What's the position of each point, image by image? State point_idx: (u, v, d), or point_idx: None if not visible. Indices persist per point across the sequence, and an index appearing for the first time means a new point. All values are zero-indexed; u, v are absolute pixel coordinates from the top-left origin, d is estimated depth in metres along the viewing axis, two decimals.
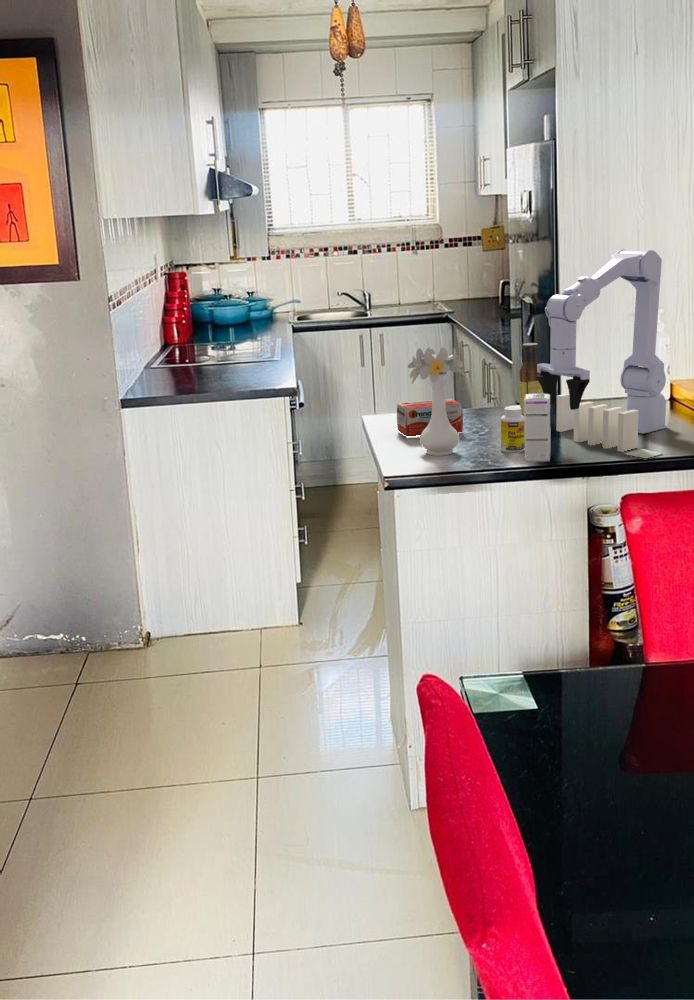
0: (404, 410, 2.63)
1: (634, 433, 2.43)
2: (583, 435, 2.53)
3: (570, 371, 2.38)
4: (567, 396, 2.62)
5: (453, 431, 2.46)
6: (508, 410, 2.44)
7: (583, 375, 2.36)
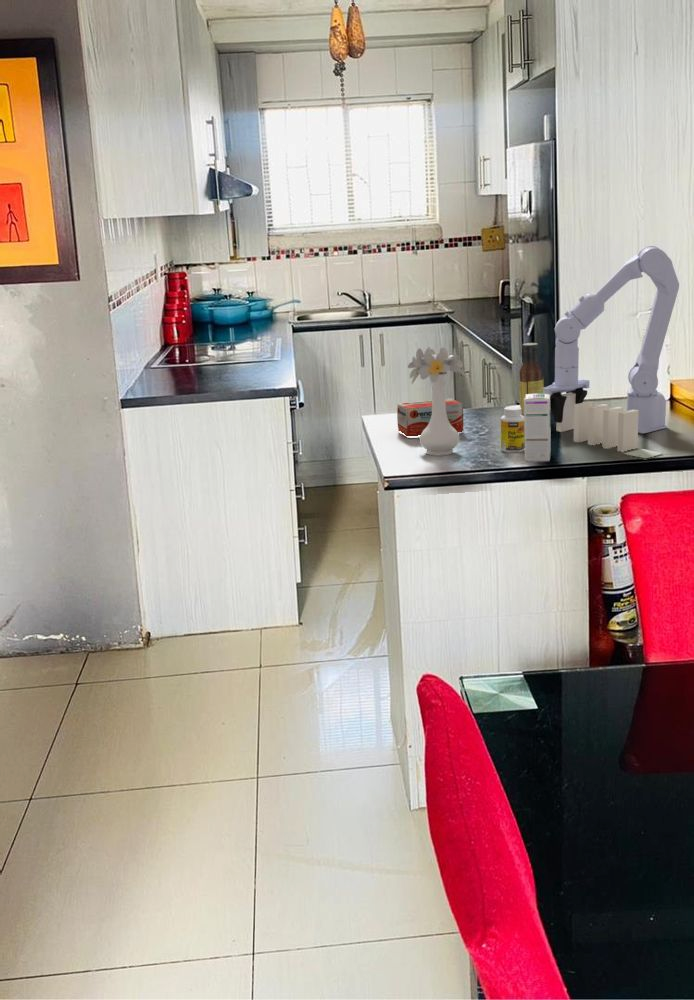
0: (405, 410, 2.63)
1: (634, 433, 2.43)
2: (583, 435, 2.53)
3: None
4: (567, 396, 2.62)
5: (453, 431, 2.46)
6: (508, 410, 2.44)
7: (543, 391, 2.60)
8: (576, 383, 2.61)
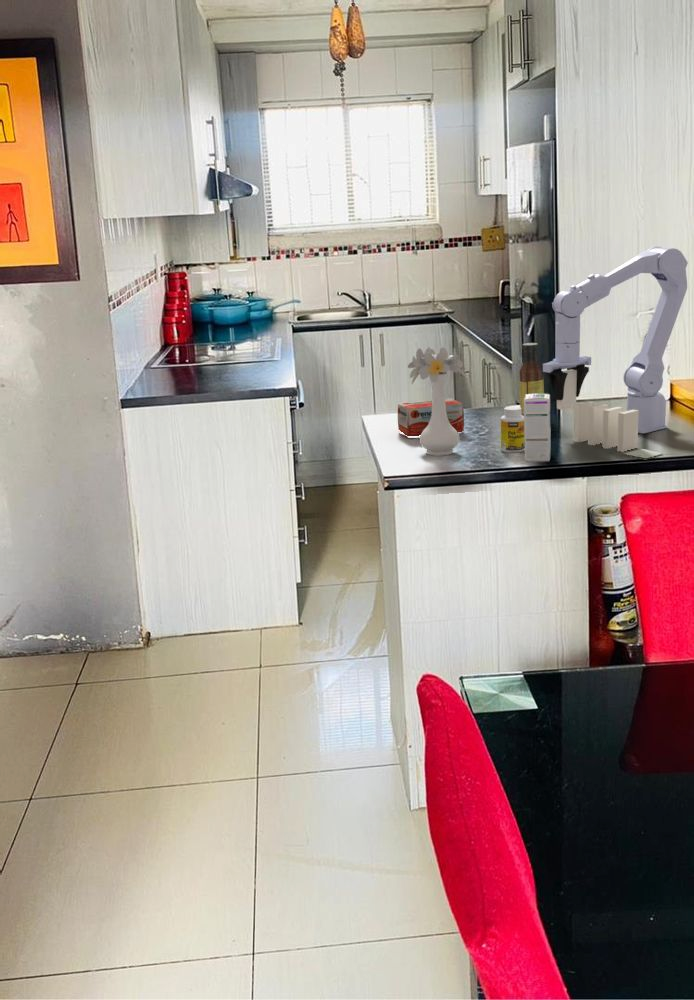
0: (406, 410, 2.63)
1: (634, 433, 2.43)
2: (583, 435, 2.53)
3: None
4: (568, 373, 2.54)
5: (453, 431, 2.46)
6: (508, 410, 2.44)
7: (543, 367, 2.52)
8: (577, 359, 2.52)
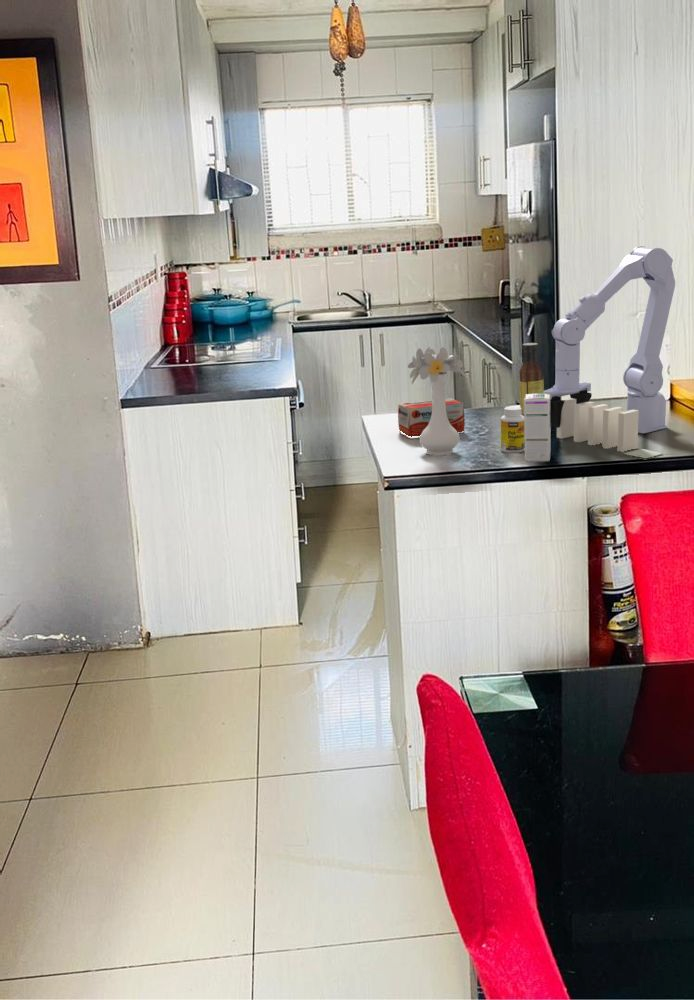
0: (407, 410, 2.63)
1: (634, 433, 2.43)
2: (583, 435, 2.53)
3: None
4: (568, 402, 2.56)
5: (453, 431, 2.46)
6: (508, 410, 2.44)
7: None
8: (577, 386, 2.54)
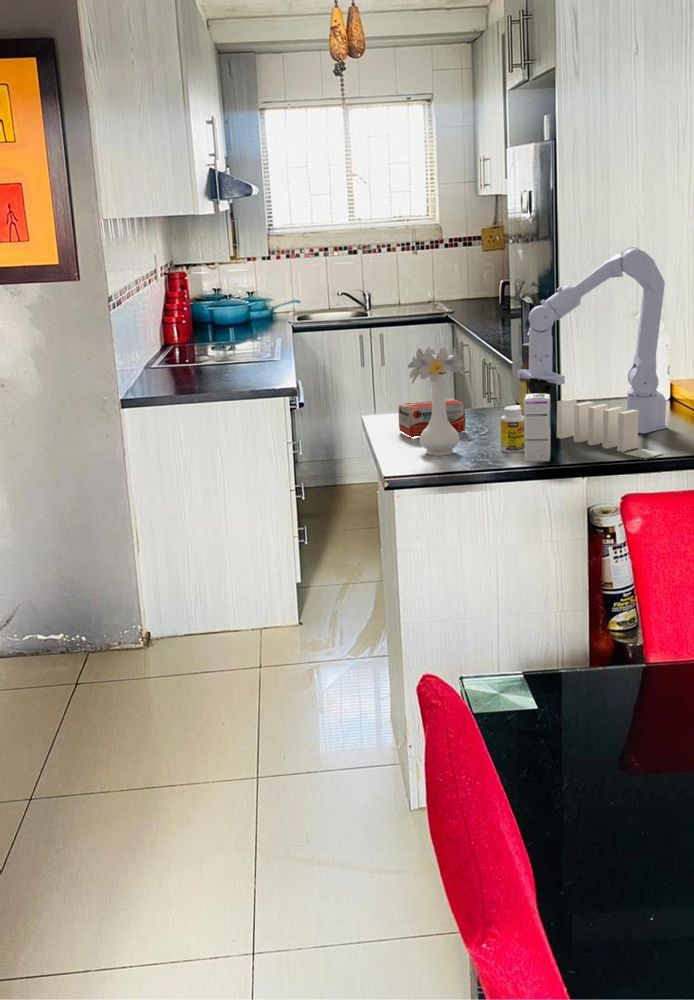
0: (408, 411, 2.62)
1: (634, 433, 2.43)
2: (583, 435, 2.53)
3: (547, 376, 2.58)
4: (568, 402, 2.56)
5: (453, 431, 2.46)
6: (508, 410, 2.44)
7: (558, 381, 2.56)
8: None
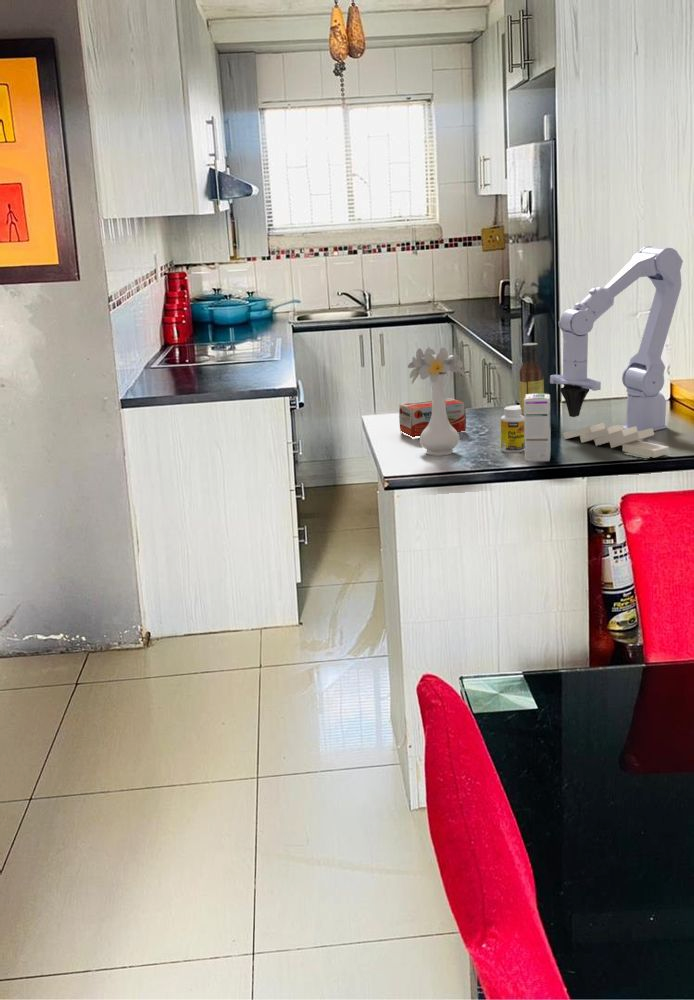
0: (409, 411, 2.62)
1: None
2: (590, 440, 2.52)
3: (582, 382, 2.49)
4: None
5: (453, 431, 2.46)
6: (508, 410, 2.44)
7: (594, 387, 2.47)
8: None
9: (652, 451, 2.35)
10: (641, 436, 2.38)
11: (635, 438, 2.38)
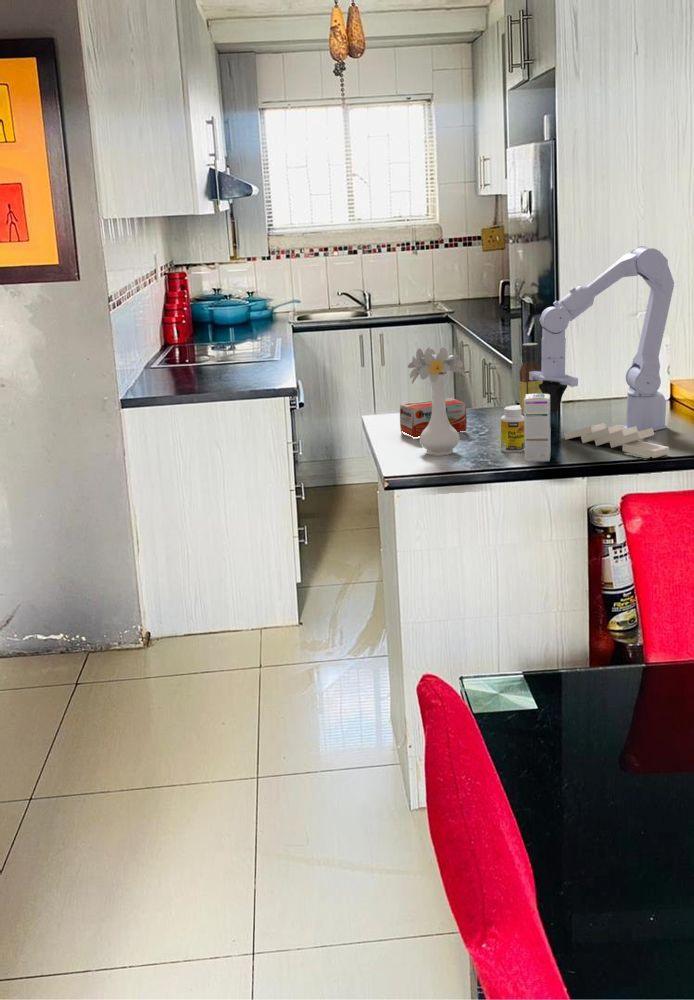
0: (411, 411, 2.62)
1: None
2: (591, 440, 2.52)
3: (560, 379, 2.55)
4: None
5: (453, 431, 2.46)
6: (508, 410, 2.44)
7: (571, 383, 2.53)
8: None
9: (652, 451, 2.35)
10: (641, 436, 2.38)
11: (635, 438, 2.38)
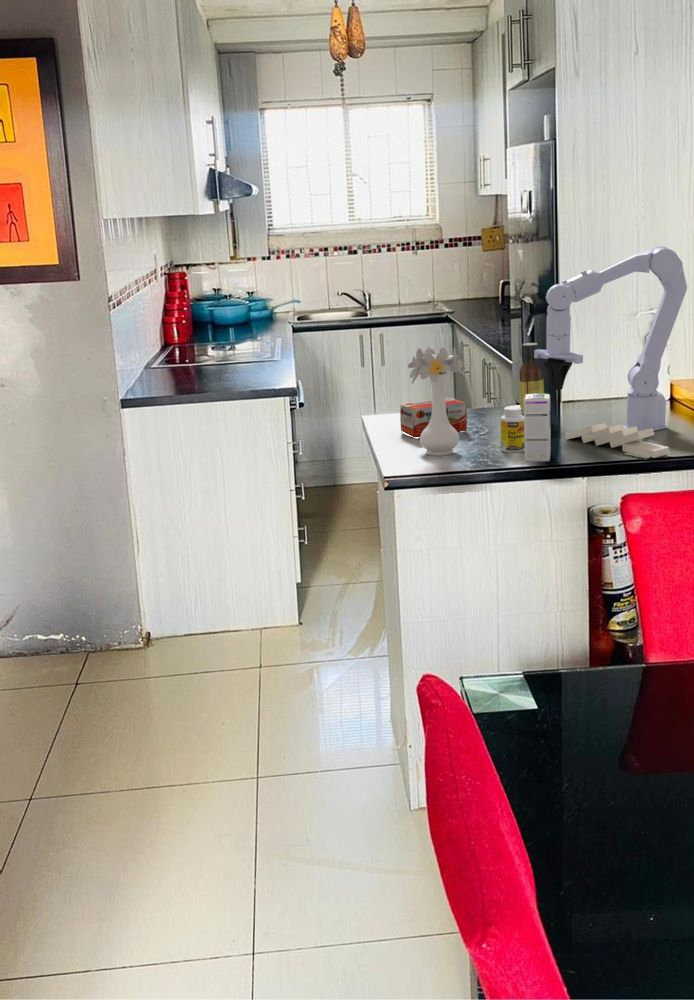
0: (411, 411, 2.62)
1: None
2: (592, 440, 2.51)
3: (565, 356, 2.56)
4: None
5: (453, 431, 2.46)
6: (508, 410, 2.44)
7: (576, 360, 2.54)
8: None
9: (652, 451, 2.35)
10: (641, 436, 2.38)
11: (635, 438, 2.38)
